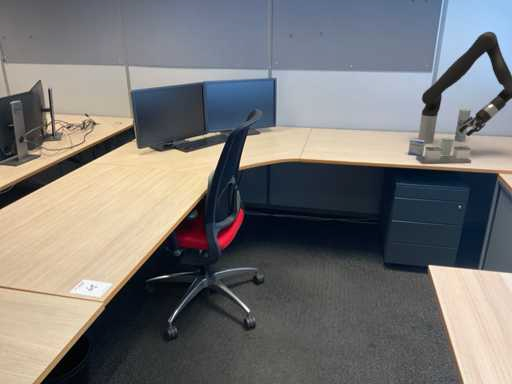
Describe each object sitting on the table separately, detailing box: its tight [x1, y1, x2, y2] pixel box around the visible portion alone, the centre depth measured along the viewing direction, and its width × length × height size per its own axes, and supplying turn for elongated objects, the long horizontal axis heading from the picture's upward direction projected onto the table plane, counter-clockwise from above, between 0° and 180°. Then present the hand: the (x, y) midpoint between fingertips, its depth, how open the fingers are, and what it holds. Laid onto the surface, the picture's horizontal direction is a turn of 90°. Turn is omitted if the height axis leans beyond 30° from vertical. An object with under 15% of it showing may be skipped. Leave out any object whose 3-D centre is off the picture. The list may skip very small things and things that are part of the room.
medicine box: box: [407, 138, 426, 157], centre depth 248 cm, size 8×4×9 cm, turn 62°
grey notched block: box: [415, 146, 472, 165], centre depth 237 cm, size 9×27×8 cm, turn 92°
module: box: [440, 137, 454, 156], centre depth 248 cm, size 4×5×9 cm
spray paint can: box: [454, 108, 472, 142], centre depth 273 cm, size 6×6×20 cm
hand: (463, 133), depth 245 cm, fingers open, 8 cm apart
